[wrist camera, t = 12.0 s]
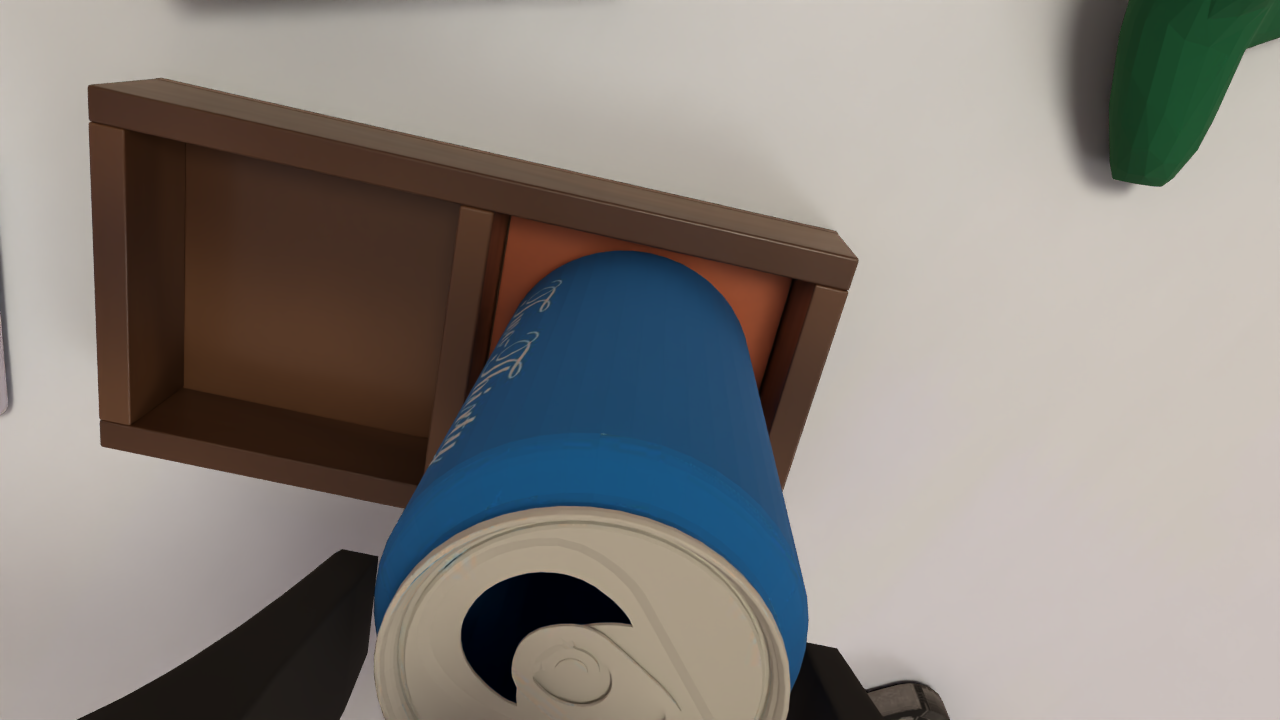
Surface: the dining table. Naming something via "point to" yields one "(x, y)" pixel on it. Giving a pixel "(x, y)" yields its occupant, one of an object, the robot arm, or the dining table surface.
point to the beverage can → (599, 520)
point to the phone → (909, 703)
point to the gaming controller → (1176, 78)
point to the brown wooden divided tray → (376, 283)
